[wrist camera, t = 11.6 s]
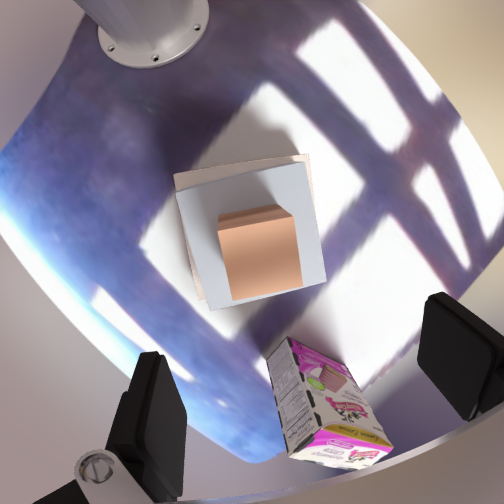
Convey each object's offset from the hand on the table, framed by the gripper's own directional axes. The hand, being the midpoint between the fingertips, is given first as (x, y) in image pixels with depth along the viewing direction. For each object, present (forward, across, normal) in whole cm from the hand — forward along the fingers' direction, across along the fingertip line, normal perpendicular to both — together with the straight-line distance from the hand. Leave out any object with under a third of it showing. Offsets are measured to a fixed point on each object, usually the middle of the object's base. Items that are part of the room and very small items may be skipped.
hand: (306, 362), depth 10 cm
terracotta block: (+18, 0, 0) cm, 18 cm away
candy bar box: (+25, -5, +21) cm, 33 cm away
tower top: (+22, 0, +1) cm, 22 cm away
